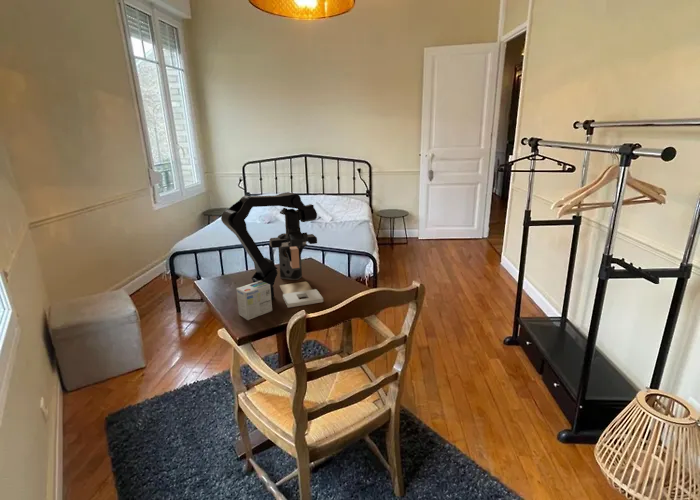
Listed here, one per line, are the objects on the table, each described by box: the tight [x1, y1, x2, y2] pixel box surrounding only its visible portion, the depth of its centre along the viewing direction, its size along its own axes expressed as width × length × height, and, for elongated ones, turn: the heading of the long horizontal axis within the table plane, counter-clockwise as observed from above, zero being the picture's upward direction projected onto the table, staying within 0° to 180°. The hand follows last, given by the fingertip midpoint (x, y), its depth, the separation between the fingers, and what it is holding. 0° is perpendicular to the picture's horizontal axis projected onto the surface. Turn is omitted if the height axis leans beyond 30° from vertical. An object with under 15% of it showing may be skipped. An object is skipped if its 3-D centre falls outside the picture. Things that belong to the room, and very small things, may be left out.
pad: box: [279, 281, 314, 295], centre depth 163 cm, size 12×10×1 cm
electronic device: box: [277, 232, 303, 281], centre depth 173 cm, size 9×6×20 cm, turn 73°
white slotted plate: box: [282, 288, 324, 308], centre depth 152 cm, size 14×10×2 cm
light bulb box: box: [235, 280, 273, 321], centre depth 140 cm, size 11×7×11 cm, turn 136°
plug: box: [290, 246, 299, 269], centre depth 159 cm, size 3×4×8 cm
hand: (294, 260), depth 159 cm, fingers closed on plug, 3 cm apart
